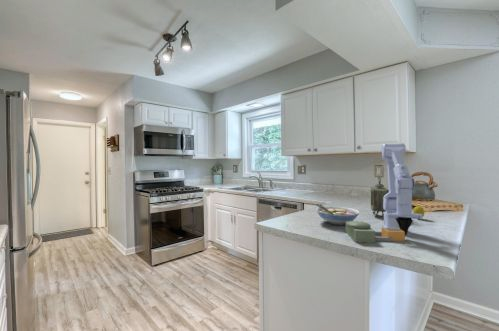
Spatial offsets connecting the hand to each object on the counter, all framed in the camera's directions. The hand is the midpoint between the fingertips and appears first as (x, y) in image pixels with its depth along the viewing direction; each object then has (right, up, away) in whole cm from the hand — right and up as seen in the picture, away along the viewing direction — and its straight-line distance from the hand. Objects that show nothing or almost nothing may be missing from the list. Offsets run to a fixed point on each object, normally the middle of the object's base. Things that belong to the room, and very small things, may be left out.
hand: (403, 234), depth 108 cm
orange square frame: (-5, -2, 0) cm, 5 cm away
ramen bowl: (-20, -2, +26) cm, 33 cm away
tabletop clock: (+13, -1, +44) cm, 46 cm away
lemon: (+32, -1, +37) cm, 49 cm away
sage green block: (-16, -2, +2) cm, 16 cm away
